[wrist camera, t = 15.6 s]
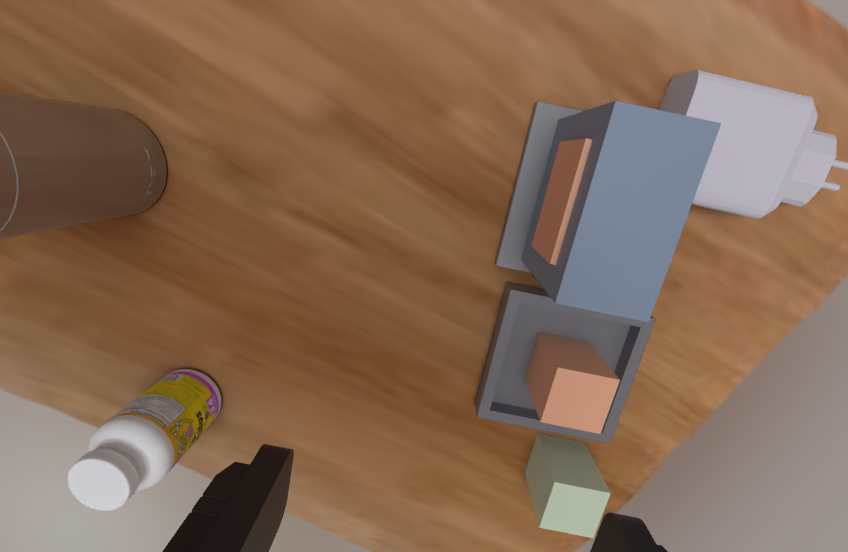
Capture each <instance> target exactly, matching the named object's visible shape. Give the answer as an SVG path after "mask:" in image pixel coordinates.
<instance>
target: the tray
mask: <svg viewBox="0 0 848 552" xmlns="http://www.w3.org/2000/svg"><path fill="white" fill-rule="evenodd" d="M655 320H656V319H655V318H654V317H652V316H651V317H650V320H649V322H645V321H640V320H635V319H630V318H625V317H621V316H616V315H611V314H606V313H601V312H596V311H591V310H586V309H581V308H576V307H571V306H566V305H561V304H557V303H555V302H554V301H553V300H552V298H551V297H550V296H549V295H548V293H547V292H546V291H545V290H544V289H540V288H535V287H530V286H525V285H520V284H516V283H511V282H507V283H506V287H505V291H504V294H503V298H502V302H501V306H500V310H499V313H498V317H497V321H496V325H495V329H494V332H493V336H492V340H491V344H490V348H489V352H488V355H487V359H486V363H485V367H484V371H483V374H482V378H481V382H480V386H479V390H478V393H477V397H476V401H475V407H476V414H477V417H478V418H483V419H488V420H493V421H498V422H503V423H508V424H513V425H518V426H523V427H528V428H533V429H538V430H543V431H548V432H554V433H559V434H564V435H569V436H574V437H579V438H584V439H589V440H594V441H599V442H604V443H609V444H610V442H611V439H612V436H613V433H614V431H615V428H616V425H617V423H618V420H619V417H620V414H621V412H622V409H623V406H624V404H625V401H626V398H627V395H628V393H629V390H630V387H631V385H632V382H633V379H634V377H635V374H636V371H637V368H638V366H639V363H640V360H641V358H642V355H643V352H644V349H645V347H646V344H647V341H648V339H649V336H650V333H651V330H652V328H653V325H654V322H655ZM538 333H543V334H548V335H553V336H558V337H563V338H568V339H573V340H578V341H583V342H587V343H591V345H592V346H593V347H594V348H595V350H596V351H597V352H598V353H599V355H600V356H601V357H602V358H603V359H604V361H605V362H606V363H607V364H608V366H609V367H610V368H611V369H612V371H613V372H614V373H615V374H616V376H617V377H618V378H619V379H620V382H619V384H618V387H617V390H616V393H615V395H614V398H613V401H612V404H611V406H610V409H609V412H608V415H607V417H606V420H605V423H604V426H603V428H602V431H601V434H598V433H593V432H588V431H583V430H578V429H573V428H568V427H563V426H558V425H553V424H548V423H543V422H540V419H539V417H538V414H537V411H536V409H535V406H534V403H533V401H532V398H531V396H530V393H529V390H528V388H527V385H526V382H525V380H524V379H525V376H526V373H527V369H528V366H529V362H530V359H531V356H532V352H533V349H534V345H535V342H536V339H537V335H538Z"/></svg>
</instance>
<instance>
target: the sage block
mask: <svg viewBox="0 0 848 552" xmlns="http://www.w3.org/2000/svg"><path fill="white" fill-rule="evenodd" d="M525 476H526V480H527V484H528V487H529V491H530V495H531V499H532V502H533V506H534V510H535V514H536V517H537V521H538V525H539V528H544V529H549V530H554V531H559V532H565V533H570V534H575V535H580V536H585V537H590V538H594V535H595V532H596V530H597V527H598V525H599V522H600V519H601V517H602V514H603V512H604V509H605V506H606V504H607V501H608V499H609V496H610V494H611V493H610V491H609V489H608V487H607V485H606V483H605V481H604V479H603V477H602V475H601V473H600V471H599V469H598V467H597V465H596V463H595V461H594V459H593V457H592V455H591V453H590V452H589V450H588V448H587V446H586V444H585V442H581V441H576V440H571V439H566V438H561V437H556V436H550V435H545V434H540V433H537V436H536V439H535V442H534V445H533V448H532V451H531V455H530V458H529V461H528V464H527V467H526V470H525Z"/></svg>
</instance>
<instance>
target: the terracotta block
mask: <svg viewBox="0 0 848 552" xmlns="http://www.w3.org/2000/svg"><path fill="white" fill-rule="evenodd" d="M524 380H525V382H526V385H527V388H528V390H529V393H530V396H531V398H532V401H533V403H534V406H535V409H536V411H537V414H538V417H539V419H540V422H543V423H548V424H553V425H558V426H563V427H568V428H573V429H578V430H583V431H588V432H593V433H598V434H601V431H602V428H603V426H604V423H605V420H606V417H607V415H608V412H609V409H610V406H611V404H612V401H613V398H614V395H615V393H616V390H617V387H618V384H619V382H620V379H619V378H618V377H617V376H616V374H615V373H614V372H613V371H612V369H611V368H610V367H609V366H608V364H607V363H606V362H605V361H604V359H603V358H602V357H601V356H600V355H599V353H598V352H597V351H596V350H595V348H594V347H593V346H592V345H591V343H587V342H583V341H578V340H573V339H568V338H563V337H558V336H553V335H548V334H543V333H538V335H537V339H536V342H535V345H534V349H533V352H532V356H531V359H530V362H529V366H528V369H527V373H526V376H525V379H524Z"/></svg>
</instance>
